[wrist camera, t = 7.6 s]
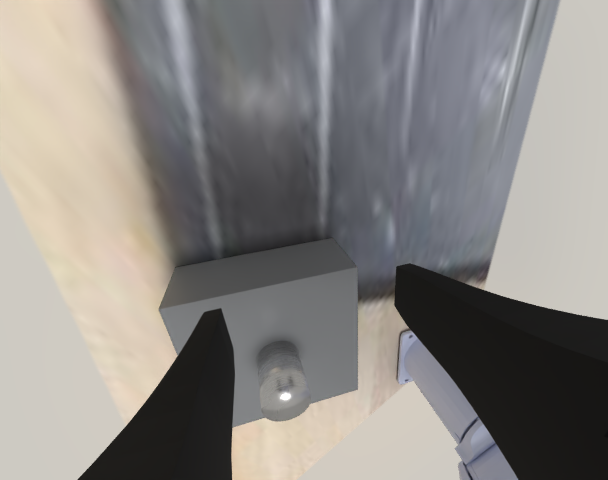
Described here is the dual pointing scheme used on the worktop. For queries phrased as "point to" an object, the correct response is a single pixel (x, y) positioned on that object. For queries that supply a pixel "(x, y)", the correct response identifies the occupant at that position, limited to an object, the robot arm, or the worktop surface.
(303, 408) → the cover
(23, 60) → the worktop surface
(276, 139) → the worktop surface
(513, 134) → the worktop surface
